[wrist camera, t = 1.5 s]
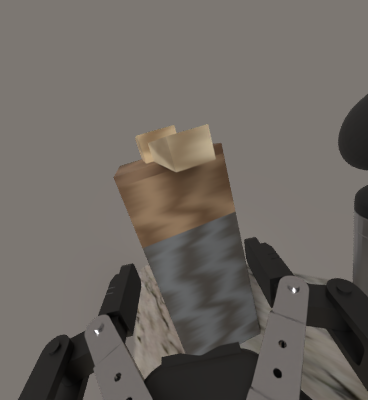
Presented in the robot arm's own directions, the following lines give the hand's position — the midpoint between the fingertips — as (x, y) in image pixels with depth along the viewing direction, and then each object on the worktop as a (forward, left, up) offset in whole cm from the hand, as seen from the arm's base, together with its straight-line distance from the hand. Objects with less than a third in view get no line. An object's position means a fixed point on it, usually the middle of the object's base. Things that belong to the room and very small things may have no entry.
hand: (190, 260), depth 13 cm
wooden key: (-3, -11, +6) cm, 13 cm away
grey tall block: (-3, -18, -27) cm, 32 cm away
